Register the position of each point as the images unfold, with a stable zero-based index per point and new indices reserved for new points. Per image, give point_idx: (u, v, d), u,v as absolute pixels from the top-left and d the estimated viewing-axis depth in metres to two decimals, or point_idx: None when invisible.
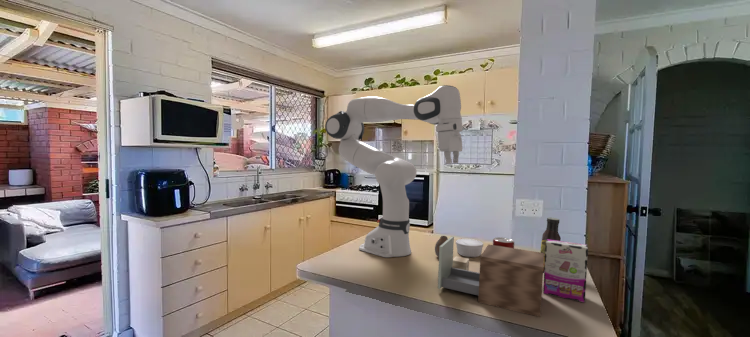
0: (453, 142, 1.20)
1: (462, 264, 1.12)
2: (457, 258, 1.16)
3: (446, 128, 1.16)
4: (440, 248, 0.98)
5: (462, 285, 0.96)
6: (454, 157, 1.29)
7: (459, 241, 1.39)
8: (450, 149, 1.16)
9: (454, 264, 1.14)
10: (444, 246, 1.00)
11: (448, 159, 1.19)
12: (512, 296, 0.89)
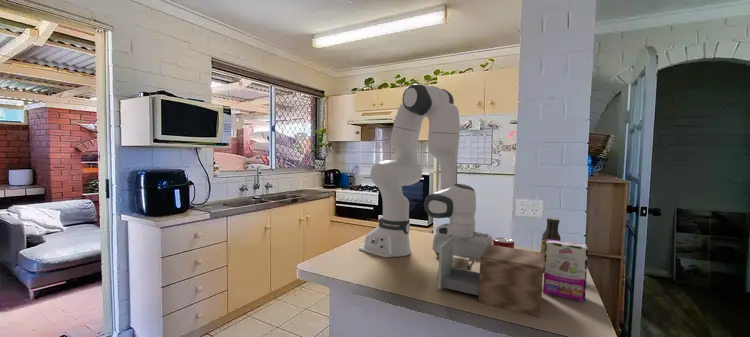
0: None
1: (462, 263, 1.12)
2: (457, 258, 1.16)
3: None
4: (440, 248, 0.98)
5: (462, 285, 0.96)
6: None
7: None
8: (437, 251, 1.17)
9: (454, 264, 1.14)
10: (444, 246, 1.00)
11: None
12: (512, 296, 0.89)
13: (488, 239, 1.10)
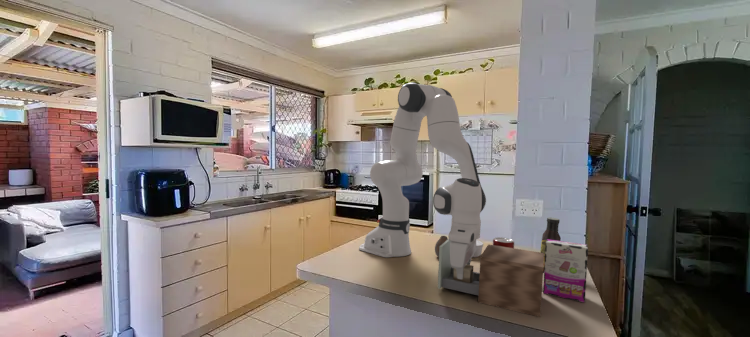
0: (468, 253, 0.97)
1: (472, 269, 1.01)
2: None
3: (461, 240, 0.93)
4: (440, 248, 0.98)
5: (462, 285, 0.96)
6: None
7: None
8: (464, 266, 0.94)
9: (470, 274, 0.99)
10: (444, 246, 1.00)
11: (460, 274, 0.97)
12: (512, 296, 0.89)
13: None
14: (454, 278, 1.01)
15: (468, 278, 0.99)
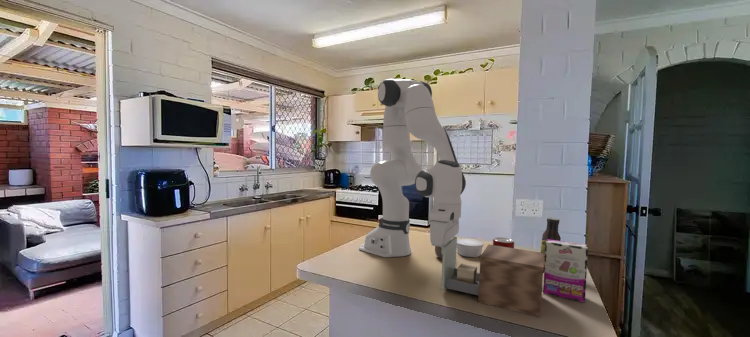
0: (448, 232, 1.00)
1: (476, 269, 1.01)
2: (465, 268, 1.00)
3: (441, 219, 0.95)
4: (443, 248, 0.97)
5: (466, 286, 0.96)
6: None
7: (459, 241, 1.39)
8: (444, 244, 0.96)
9: (474, 274, 0.99)
10: (447, 247, 0.99)
11: None
12: (512, 296, 0.89)
13: None
14: (457, 279, 1.00)
15: (472, 279, 0.98)
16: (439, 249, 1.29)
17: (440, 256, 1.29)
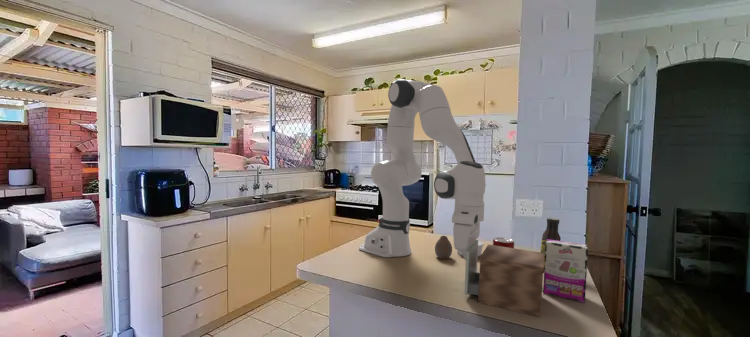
0: (471, 235, 0.97)
1: None
2: None
3: (465, 222, 0.92)
4: (467, 252, 0.94)
5: None
6: None
7: None
8: (467, 248, 0.93)
9: None
10: (470, 251, 0.96)
11: None
12: (512, 296, 0.89)
13: None
14: None
15: None
16: (439, 249, 1.29)
17: (440, 256, 1.29)
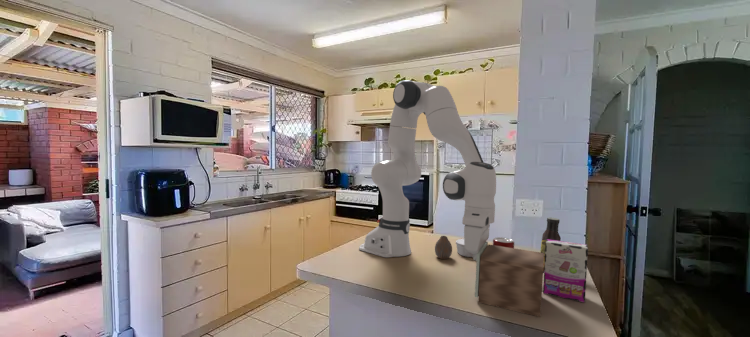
0: (482, 237, 0.95)
1: None
2: None
3: (476, 224, 0.91)
4: (477, 254, 0.93)
5: None
6: None
7: (459, 241, 1.39)
8: (478, 250, 0.91)
9: None
10: (481, 252, 0.95)
11: (476, 255, 0.98)
12: (512, 296, 0.89)
13: None
14: None
15: None
16: (439, 249, 1.29)
17: (440, 256, 1.29)
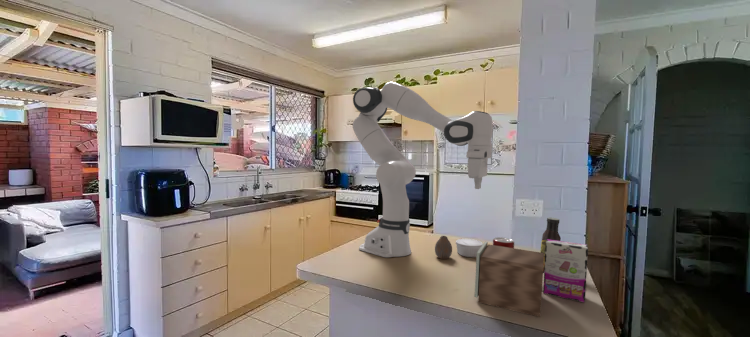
0: (481, 169, 1.22)
1: None
2: None
3: (477, 156, 1.17)
4: (477, 254, 0.93)
5: None
6: None
7: (459, 241, 1.39)
8: (479, 177, 1.18)
9: None
10: (481, 252, 0.95)
11: (477, 184, 1.24)
12: (512, 296, 0.89)
13: None
14: None
15: None
16: (439, 249, 1.29)
17: (440, 256, 1.29)
